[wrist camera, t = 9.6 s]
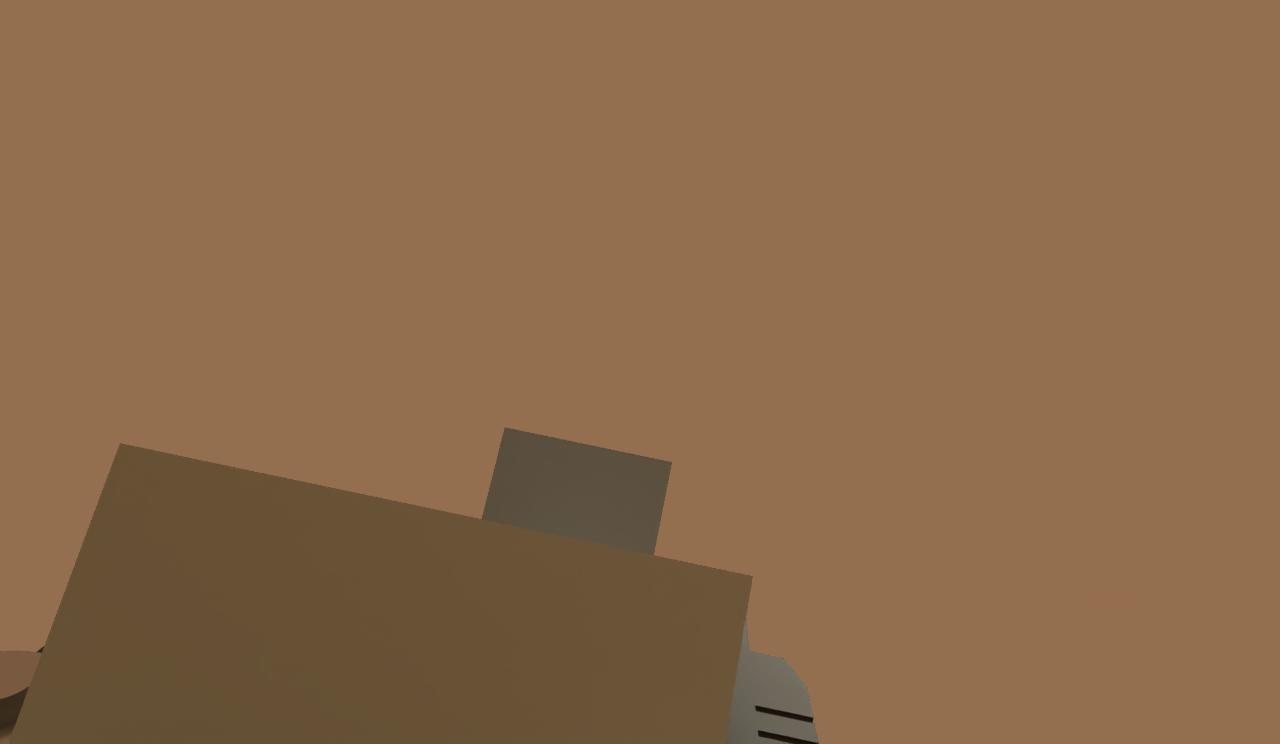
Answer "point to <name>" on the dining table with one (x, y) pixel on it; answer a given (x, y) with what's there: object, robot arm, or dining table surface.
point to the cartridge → (387, 612)
